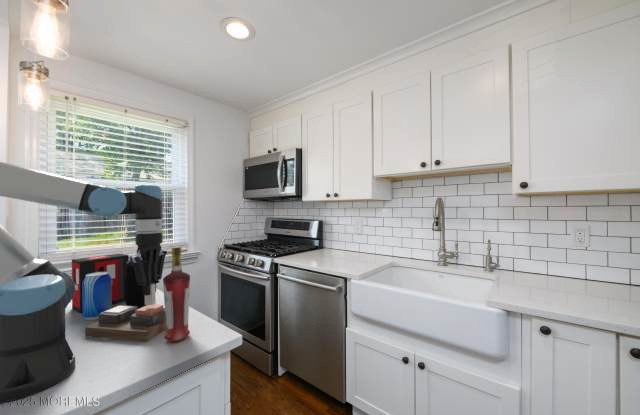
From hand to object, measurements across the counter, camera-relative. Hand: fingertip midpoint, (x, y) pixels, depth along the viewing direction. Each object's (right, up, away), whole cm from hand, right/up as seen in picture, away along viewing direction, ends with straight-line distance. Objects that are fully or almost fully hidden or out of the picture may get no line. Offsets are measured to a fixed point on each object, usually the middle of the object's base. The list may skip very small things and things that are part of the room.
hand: (150, 303), depth 88 cm
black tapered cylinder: (-17, -9, +19) cm, 27 cm away
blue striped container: (-27, -9, +12) cm, 31 cm away
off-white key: (-12, -5, +2) cm, 13 cm away
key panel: (-6, -9, +1) cm, 11 cm away
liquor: (+12, -9, -6) cm, 16 cm away
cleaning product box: (-36, -10, +25) cm, 45 cm away
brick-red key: (0, -3, 0) cm, 3 cm away
